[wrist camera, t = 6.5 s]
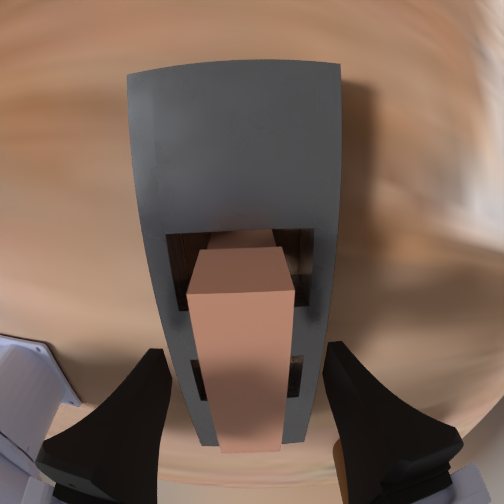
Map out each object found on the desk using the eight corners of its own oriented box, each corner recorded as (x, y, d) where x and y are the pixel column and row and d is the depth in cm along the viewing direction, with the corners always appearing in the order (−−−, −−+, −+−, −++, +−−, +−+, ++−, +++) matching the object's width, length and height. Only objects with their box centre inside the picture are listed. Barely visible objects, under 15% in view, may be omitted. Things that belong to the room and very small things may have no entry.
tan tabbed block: (225, 361, 18) (221, 453, 12) (210, 216, 14) (186, 293, 8) (270, 360, 18) (280, 450, 12) (271, 214, 14) (294, 290, 8)
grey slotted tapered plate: (204, 416, 21) (201, 445, 19) (149, 83, 11) (126, 74, 9) (299, 412, 21) (304, 441, 19) (320, 75, 11) (340, 64, 9)
